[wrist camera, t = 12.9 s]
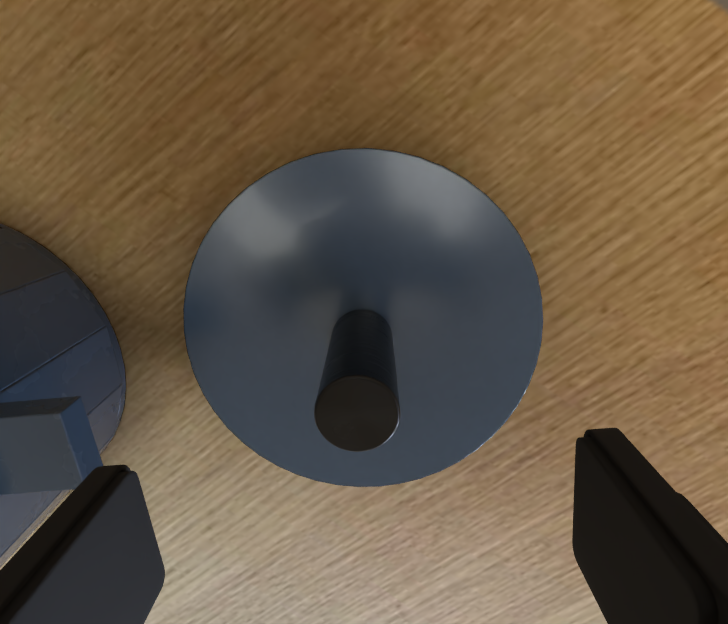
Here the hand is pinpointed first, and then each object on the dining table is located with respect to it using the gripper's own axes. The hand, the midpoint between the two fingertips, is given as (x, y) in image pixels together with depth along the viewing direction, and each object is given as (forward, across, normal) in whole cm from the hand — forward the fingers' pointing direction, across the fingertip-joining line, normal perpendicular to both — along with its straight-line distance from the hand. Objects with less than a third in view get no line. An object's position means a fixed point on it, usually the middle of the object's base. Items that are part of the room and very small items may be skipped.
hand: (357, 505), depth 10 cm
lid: (+10, 0, 0) cm, 10 cm away
